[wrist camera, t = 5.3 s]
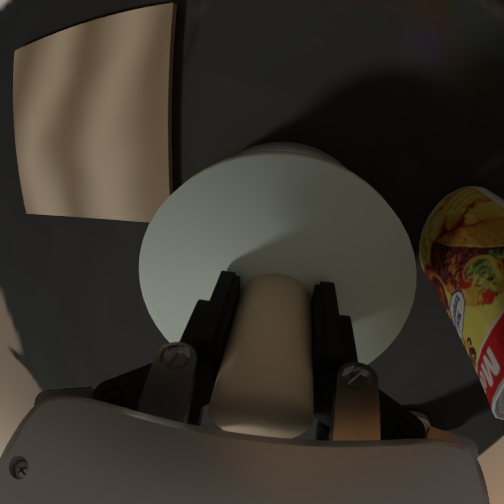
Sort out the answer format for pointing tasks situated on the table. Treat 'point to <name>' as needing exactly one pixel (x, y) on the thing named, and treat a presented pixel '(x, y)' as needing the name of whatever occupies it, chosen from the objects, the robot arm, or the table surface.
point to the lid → (277, 275)
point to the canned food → (471, 278)
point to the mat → (97, 117)
